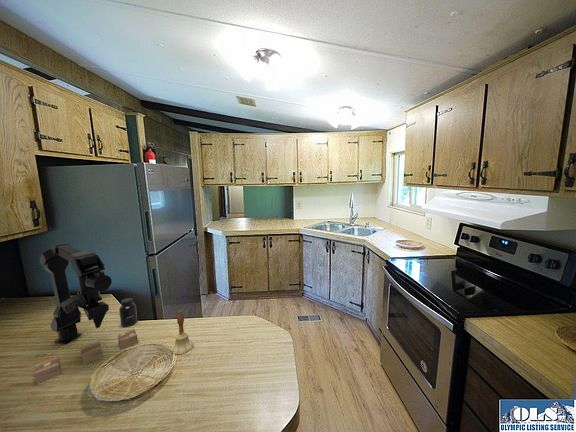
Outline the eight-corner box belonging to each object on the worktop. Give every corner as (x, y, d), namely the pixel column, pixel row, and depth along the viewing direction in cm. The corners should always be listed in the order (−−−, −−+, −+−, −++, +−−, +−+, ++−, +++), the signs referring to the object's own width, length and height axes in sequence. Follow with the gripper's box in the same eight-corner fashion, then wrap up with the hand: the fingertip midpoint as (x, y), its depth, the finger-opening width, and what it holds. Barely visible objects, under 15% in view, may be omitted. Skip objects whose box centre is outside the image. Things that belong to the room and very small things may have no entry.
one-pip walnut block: (37, 374, 87) (35, 364, 87) (60, 365, 91) (58, 355, 91) (36, 384, 83) (34, 373, 82) (60, 374, 87) (58, 364, 86)
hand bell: (182, 339, 104) (179, 304, 102) (198, 343, 101) (194, 307, 99) (166, 352, 97) (162, 314, 95) (182, 356, 94) (179, 318, 92)
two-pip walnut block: (119, 343, 104) (117, 334, 103) (135, 337, 108) (134, 328, 107) (121, 350, 99) (119, 340, 99) (138, 343, 103) (136, 334, 103)
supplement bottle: (129, 328, 114) (126, 304, 113) (117, 326, 116) (114, 303, 114) (141, 320, 121) (138, 297, 120) (129, 318, 123) (126, 296, 121)
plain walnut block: (81, 357, 96) (80, 348, 95) (100, 350, 100) (99, 341, 99) (83, 365, 91) (81, 355, 91) (102, 357, 95) (101, 348, 95)
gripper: (55, 287, 92) (61, 325, 95) (67, 301, 81) (73, 343, 83) (91, 278, 101) (96, 313, 103) (107, 289, 90) (111, 328, 92)
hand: (94, 323), depth 95 cm, fingers open, 9 cm apart
